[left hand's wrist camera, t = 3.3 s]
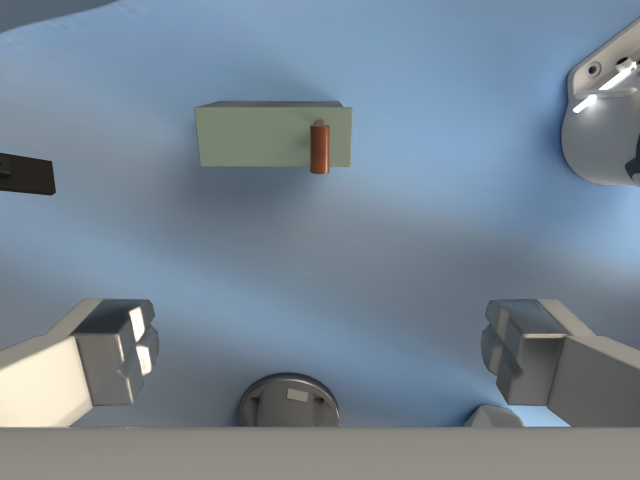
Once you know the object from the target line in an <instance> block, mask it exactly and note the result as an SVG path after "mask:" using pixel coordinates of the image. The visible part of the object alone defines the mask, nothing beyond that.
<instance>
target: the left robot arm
mask: <svg viewBox="0 0 640 480" xmlns="http://www.w3.org/2000/svg"><path fill="white" fill-rule="evenodd" d="M591 66H592V68H593V70H592V72H591V73H589V72H588V70H589V68H590V67H591ZM567 90H568V99H569V101H568V106H567V110H566V113H565V117H564V120H563V125H562V132H561V143H562V149H563V153H564V156H565V159H566V161H567V163H568V164H569V166H570V167H571V169H572V170H573V171H574V172H575V173H576V174H577V175H579V176H580V177H581V178H583V179H585V180H587V181H589V182H592V183H595V184H600V185H630V186H637V187H640V17H639V18H638V19H637V20H636V21H634V22H633V23H632V24H630V25H629V26H628V27H626V28H625V29H624V30H622V31H621V32H620V33H619V34H617V35H616V36H615V37H613V38H612V39H611V40H609V41H608V42H607V43H605V44H604V45H603V46H601V47H600V48H599V49H598V50H596V51H595V52H594V53H592V54H591V55H590V56H588V57H587V58H586V59H584V60H583V61H582V62H581V63H579V64H578V65H577V66H575V67H574V68H573V69H572V70H571V71H570V73H569V75H568V79H567ZM154 317H155V314H154V309H153V304H152V303H151V302H150V301H149V300H141V299H105V298H103V299H83V300H81V301H80V302H79V303H78V304H77V305H76V306H75V307H74V308H73V309H72V310H71V311H69V312H68V313H67V314H66V315H65V316H64V317H63V318H62V319H61V320H60V321H59V322H58V323H57V324H55V325H54V326H53V327H52V328H51V329H50V330H49V331H48V332H47V333H46V334H45V335H44V336H35V337H32V338H30V339H28V340H25V341H23V342H20V343H18V344H15V345H13V346H11V347H8V348H6V349H3V350H1V351H0V480H640V351H639V350H636V349H634V348H632V347H629V346H627V345H624V344H622V343H620V342H617V341H615V340H612V339H610V338H608V337H605V336H596V335H595V334H594V333H593V332H592V331H591V330H590V329H589V328H588V327H587V326H586V325H585V324H583V323H582V322H581V321H580V320H579V319H578V318H577V317H576V316H575V315H574V314H573V313H572V312H571V311H570V310H568V309H567V308H566V307H565V306H564V305H563V304H562V303H561V302H560V301H559V300H556V299H553V298H549V299H511V300H490V301H489V303H488V305H487V308H486V314H485V317H486V318H487V320H488V321H489V323H490V324H489V325H488V327H487V328H486V329H485V330H484V331H483V332H482V338H481V352H482V357H483V361H484V364H485V365H486V367H487V369H488V371H490V372H491V373H493V374H494V375H496V376H497V381H496V385H497V387H498V388H499V390H500V392H501V394H502V395H503V397H504V399H505V400H506V402H507V404H508V405H526V406H547V408H548V409H549V410H551V411H552V412H553V413H554V414H556V415H557V416H558V417H560V418H561V419H562V420H564V421H565V422H566V423H568V424H569V425H570V426H572V427H68V426H70V425H71V424H72V423H74V422H75V421H76V420H78V419H79V418H80V417H82V416H83V415H84V414H86V413H87V412H88V411H90V410H91V409H92V408H93V406H114V405H132V404H133V402H134V400H135V399H136V397H137V395H138V394H139V392H140V390H141V388H142V387H143V385H144V381H143V376H144V375H146V374H147V373H149V372H150V371H152V369H153V367H154V365H155V363H156V361H157V357H158V352H159V337H158V332H157V331H156V330H155V329H154V328H153V327H152V325H151V324H150V323H151V321H152V320H153V318H154Z"/></svg>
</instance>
